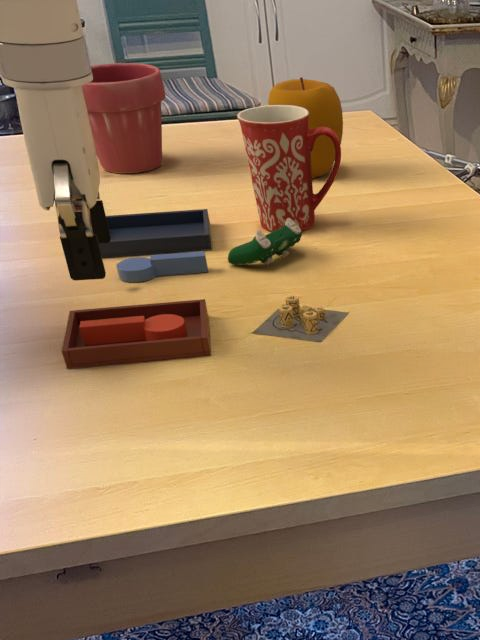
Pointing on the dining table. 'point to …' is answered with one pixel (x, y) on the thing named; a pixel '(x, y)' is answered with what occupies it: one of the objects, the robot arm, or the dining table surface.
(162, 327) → the red spoon
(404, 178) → the dining table surface
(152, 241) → the blue tray
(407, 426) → the dining table surface
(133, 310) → the red tray
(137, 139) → the flower pot
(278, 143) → the mug
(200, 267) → the blue spoon
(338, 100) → the apple
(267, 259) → the green elongated piece
